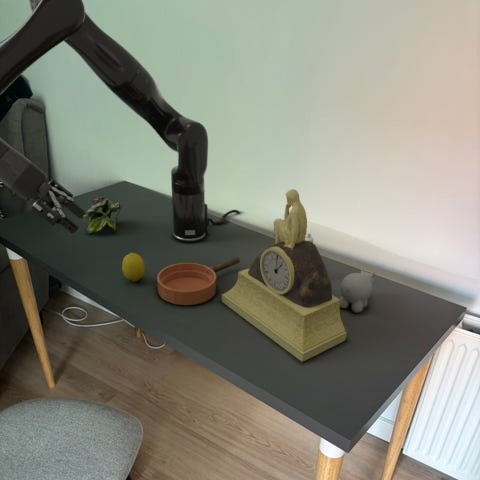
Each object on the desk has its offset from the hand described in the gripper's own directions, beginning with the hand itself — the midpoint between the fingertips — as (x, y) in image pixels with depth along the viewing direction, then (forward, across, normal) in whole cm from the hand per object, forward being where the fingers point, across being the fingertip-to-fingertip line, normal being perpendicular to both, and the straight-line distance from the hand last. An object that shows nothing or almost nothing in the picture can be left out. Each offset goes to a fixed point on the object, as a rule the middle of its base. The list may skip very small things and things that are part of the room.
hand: (80, 222), depth 119 cm
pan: (+29, -5, -6) cm, 30 cm away
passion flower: (+11, +32, +12) cm, 36 cm away
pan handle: (+34, +3, -14) cm, 37 cm away
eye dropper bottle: (+50, +3, -28) cm, 57 cm away
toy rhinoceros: (+58, -10, -35) cm, 69 cm away
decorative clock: (+44, -18, -21) cm, 52 cm away
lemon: (+19, 0, +3) cm, 20 cm away
